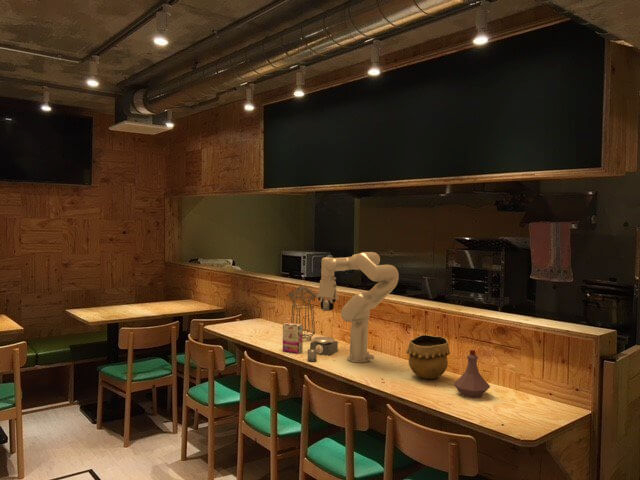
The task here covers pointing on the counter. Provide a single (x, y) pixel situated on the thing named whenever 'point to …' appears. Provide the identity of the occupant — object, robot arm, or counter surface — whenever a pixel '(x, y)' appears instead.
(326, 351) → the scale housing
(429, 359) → the clay pot
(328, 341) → the pan
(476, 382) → the flask
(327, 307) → the disc
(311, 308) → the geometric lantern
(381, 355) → the counter surface
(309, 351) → the cylinder
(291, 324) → the candy bar box
